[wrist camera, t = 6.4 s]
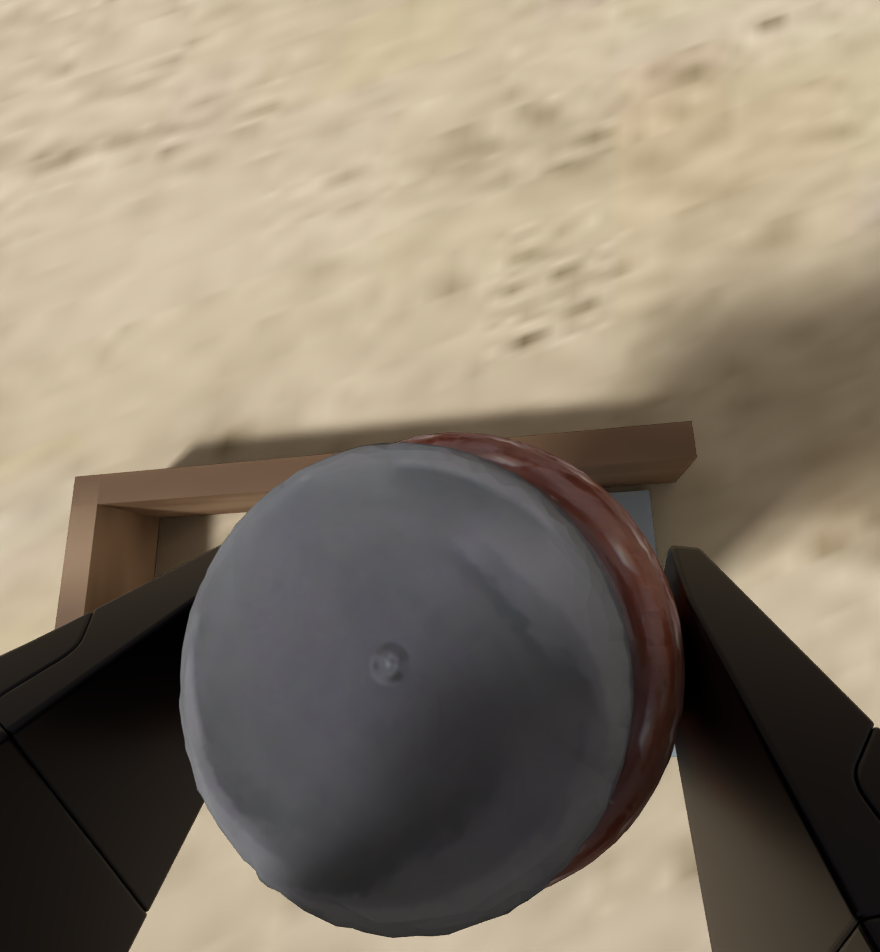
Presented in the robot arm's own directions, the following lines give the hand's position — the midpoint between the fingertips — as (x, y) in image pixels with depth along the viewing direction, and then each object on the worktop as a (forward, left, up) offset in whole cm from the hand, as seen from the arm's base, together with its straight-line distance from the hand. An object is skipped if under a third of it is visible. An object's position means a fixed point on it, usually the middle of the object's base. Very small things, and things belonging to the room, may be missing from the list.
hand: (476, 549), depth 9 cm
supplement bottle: (-1, +1, -7) cm, 7 cm away
